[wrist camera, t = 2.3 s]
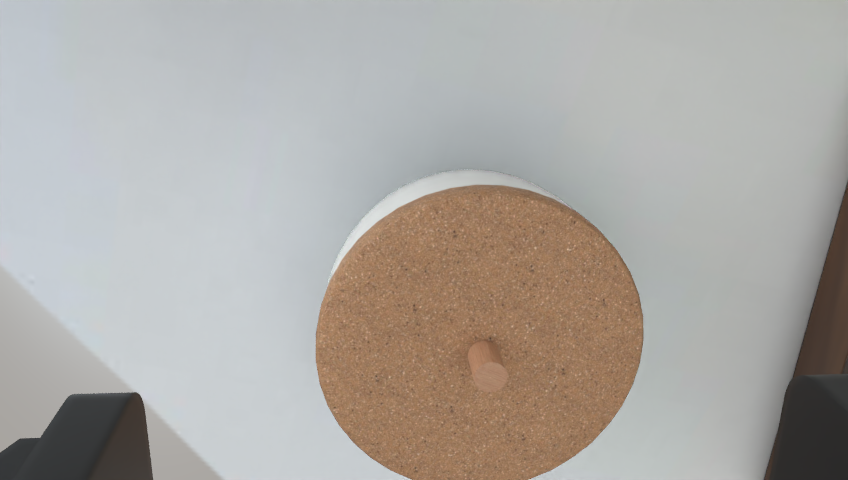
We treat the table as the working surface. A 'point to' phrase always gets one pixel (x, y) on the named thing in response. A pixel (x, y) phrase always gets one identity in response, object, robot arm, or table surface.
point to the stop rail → (828, 314)
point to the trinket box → (476, 330)
